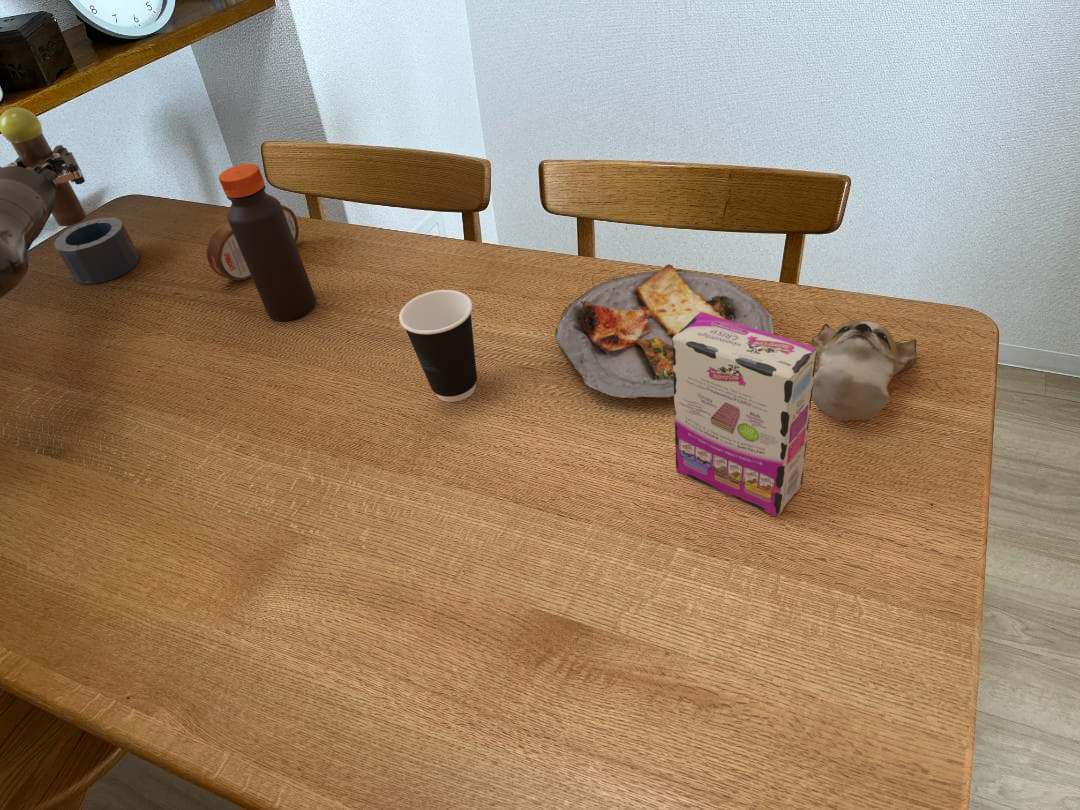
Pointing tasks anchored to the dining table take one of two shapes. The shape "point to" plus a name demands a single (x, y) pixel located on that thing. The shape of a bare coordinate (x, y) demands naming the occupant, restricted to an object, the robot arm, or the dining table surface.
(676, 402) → the candy bar box
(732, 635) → the dining table surface
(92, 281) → the tube
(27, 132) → the ball peg
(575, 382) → the dining table surface
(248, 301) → the dining table surface
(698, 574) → the dining table surface
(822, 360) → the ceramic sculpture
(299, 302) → the bottle
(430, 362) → the dixie cup
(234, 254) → the tin
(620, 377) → the food plate
